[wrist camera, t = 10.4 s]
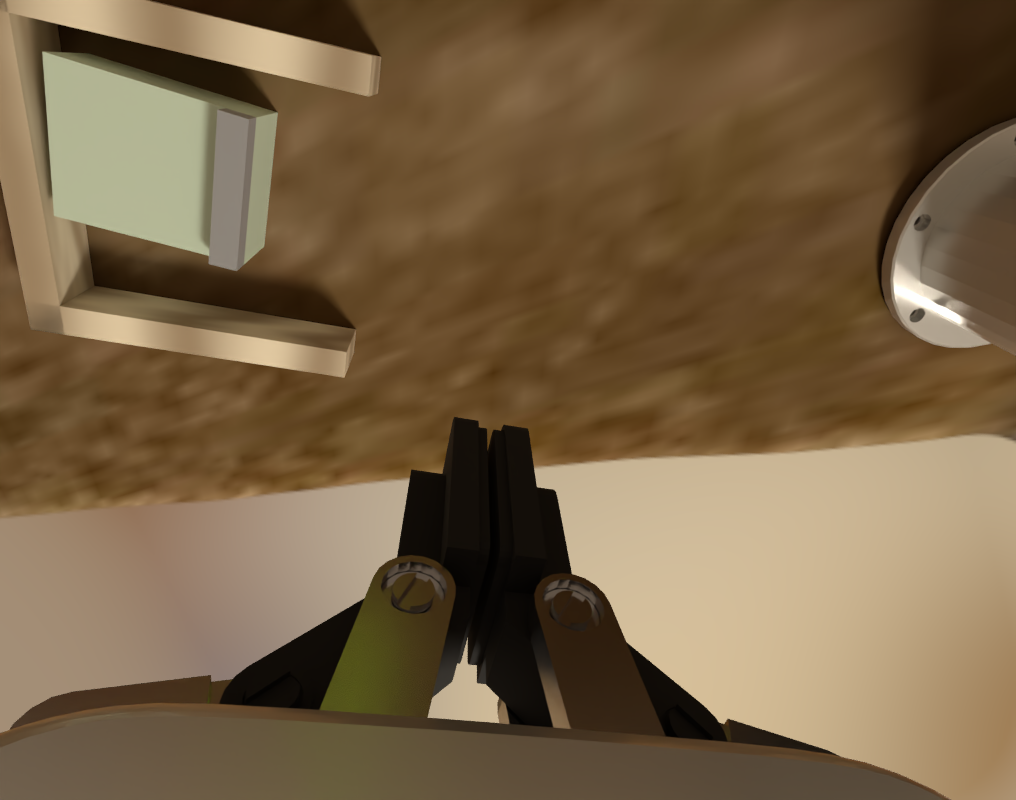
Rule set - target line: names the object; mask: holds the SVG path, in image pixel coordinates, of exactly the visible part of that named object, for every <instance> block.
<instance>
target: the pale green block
mask: <svg viewBox="0 0 1016 800" xmlns="http://www.w3.org/2000/svg"><path fill="white" fill-rule="evenodd" d="M42 54H43V68H44V82H45V96H46V110H47V124H48V138H49V152H50V166H51V180H52V194H53V208H54V216H56V217H60V218H64V219H68V220H72V221H76V222H80V223H84V224H88V225H91V226H95V227H99V228H103V229H107V230H111V231H115V232H119V233H123V234H127V235H130V236H134V237H138V238H142V239H146V240H150V241H154V242H158V243H162V244H165V245H169V246H173V247H177V248H181V249H185V250H189V251H193V252H197V253H200V254H204V255H208V256H209V264H211V265H215V266H219V267H222V268H226V269H230V270H234V271H237V270H238V269H240V268H241V267H242V266H243V265H244V264H245V263H246V262H247V261H248V260H250V259H251V258H252V257H253V256H254V255H255V254H256V253H257V252H258V251H260V250H261V249H262V248H263V247H264V243H265V234H266V224H267V214H268V204H269V194H270V184H271V174H272V164H273V154H274V144H275V135H276V125H277V115H278V112H275V111H272V110H268V109H265V108H262V107H259V106H256V105H252V104H249V103H246V102H243V101H240V100H236V99H233V98H230V97H227V96H224V95H220V94H217V93H214V92H211V91H208V90H204V89H201V88H198V87H195V86H192V85H188V84H185V83H182V82H179V81H176V80H172V79H169V78H166V77H163V76H160V75H156V74H153V73H150V72H147V71H144V70H140V69H137V68H134V67H131V66H128V65H124V64H121V63H118V62H115V61H112V60H108V59H105V58H102V57H99V56H96V55H92V54H89V53H68V52H44V51H42Z"/></svg>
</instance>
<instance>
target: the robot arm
mask: <svg viewBox="0 0 1016 800" xmlns="http://www.w3.org/2000/svg"><path fill="white" fill-rule="evenodd" d="M882 289H883V293H884V298H885V302H886V304H887V306H888V308H889V310H890V312H891V314H892V316H893V317H894V318H895V319H896V321H897V322H898V323H899V324H900V325H901V326H902V327H903V328H904V329H906V330H907V331H909V332H911V333H912V334H914V335H915V336H917V337H918V338H920V339H923V340H925V341H927V342H929V343H931V344H934V345H939V346H944V347H949V348H970V347H975V346H981V345H987V344H991V343H992V344H994V345H996V346H998V347H1000V348H1002V349H1004V350H1005V351H1007V352H1009V353H1011V354H1013V355H1015V356H1016V118H1014V119H1011V120H1008V121H1006V122H1003V123H1000V124H998V125H995V126H992V127H991V128H989V129H987V130H985V131H983V132H982V133H980V134H978V135H976V136H975V137H973V138H971V139H969V140H968V141H966V142H965V143H964V144H962V145H961V146H960V147H958V148H957V149H956V150H954V151H953V152H952V153H951V154H949V155H948V156H947V157H945V158H944V159H943V160H942V161H941V162H940V163H939V164H938V165H937V166H936V167H935V168H934V169H933V170H932V171H931V172H930V173H929V174H928V175H927V176H926V177H925V178H924V179H923V181H922V182H921V183H920V185H919V186H918V187H917V189H916V190H915V191H914V192H913V194H912V195H911V196H910V198H909V199H908V200H907V202H906V204H905V206H904V207H903V209H902V211H901V213H900V214H899V216H898V218H897V219H896V221H895V224H894V226H893V229H892V231H891V234H890V236H889V239H888V241H887V244H886V248H885V253H884V258H883V262H882ZM467 637H468V664H470V665H477V683H481V684H486V685H487V686H488V687H489V688H490V689H491V690H492V691H493V692H494V693H495V694H496V695H497V696H498V697H499V700H498V718H499V723H489V722H475V721H462V720H449V719H437V718H427V717H428V713H429V709H430V704H431V700H432V697H433V696H435V695H436V694H437V693H439V692H440V691H441V690H442V689H443V688H444V687H446V686H447V685H448V684H450V683H451V682H452V680H453V677H454V673H455V669H456V665H457V663H460V662H461V659H462V656H463V652H464V648H465V645H466V641H467ZM0 800H951V799H949V798H947V797H945V796H944V795H942V794H940V793H938V792H937V791H935V790H933V789H931V788H929V787H927V786H924V785H922V784H920V783H918V782H915V781H913V780H911V779H909V778H907V777H905V776H902V775H900V774H897V773H895V772H892V771H889V770H886V769H883V768H880V767H877V766H874V765H871V764H868V763H865V762H861V761H856V760H852V759H848V758H844V757H840V756H838V755H836V754H834V753H832V752H830V751H828V750H825V749H822V748H819V747H816V746H812V745H809V744H806V743H803V742H800V741H797V740H793V739H790V738H787V737H784V736H781V735H778V734H774V733H771V732H768V731H765V730H762V729H758V728H755V727H752V726H749V725H746V724H743V723H739V722H737V721H734V720H730V719H727V721H726V722H725V724H721V723H719V722H718V721H717V719H716V718H715V717H714V716H713V715H712V714H711V713H710V711H708V709H707V708H705V707H704V706H703V705H702V704H701V703H700V702H699V701H697V700H696V699H695V698H694V697H692V696H691V695H690V694H689V693H688V692H686V691H685V690H684V689H683V688H681V687H680V686H679V685H678V684H677V683H675V682H674V681H673V680H672V679H670V678H669V677H668V676H667V675H666V674H664V673H663V672H662V671H661V670H660V669H658V668H657V667H656V666H655V665H653V664H652V663H651V662H650V661H649V660H647V659H646V658H645V657H644V656H642V655H641V654H640V653H639V652H638V651H636V650H635V649H634V648H633V647H632V646H630V645H629V644H628V643H627V642H626V640H625V638H624V636H623V633H622V631H621V629H620V626H619V624H618V621H617V619H616V617H615V615H614V612H613V609H612V607H611V605H610V603H609V601H608V599H607V598H606V596H605V594H604V593H603V592H602V591H601V590H600V589H599V588H598V587H597V586H596V585H594V584H593V583H591V582H590V581H588V580H586V579H585V578H582V577H579V576H576V575H573V574H572V573H571V567H570V562H569V557H568V551H567V546H566V541H565V536H564V530H563V525H562V520H561V514H560V509H559V504H558V499H557V495H556V492H555V491H554V490H552V489H545V488H538V487H537V486H536V479H535V473H534V465H533V458H532V451H531V444H530V438H529V431H528V429H527V428H521V427H514V426H508V425H503V427H502V430H501V431H499V430H493V432H492V436H491V440H490V444H489V448H488V451H487V429H486V428H479V423H478V421H476V420H470V419H463V418H457V417H454V419H453V423H452V428H451V433H450V438H449V443H448V448H447V453H446V458H445V464H444V469H443V474H438V473H431V472H424V471H417V470H411V475H410V481H409V487H408V493H407V500H406V506H405V512H404V518H403V524H402V531H401V536H400V543H399V549H398V555H397V558H395V559H392V560H390V561H388V562H387V563H385V564H384V565H382V566H381V567H380V568H379V569H378V571H377V572H376V574H375V575H374V577H373V579H372V582H371V584H370V587H369V589H368V592H367V594H366V597H365V598H364V599H363V600H361V601H359V602H357V603H356V604H354V605H352V606H351V607H349V608H347V609H345V610H344V611H342V612H340V613H339V614H337V615H335V616H333V617H332V618H330V619H328V620H327V621H325V622H323V623H322V624H320V625H318V626H316V627H315V628H313V629H311V630H310V631H308V632H306V633H304V634H303V635H301V636H299V637H298V638H296V639H294V640H292V641H291V642H289V643H287V644H286V645H284V646H282V647H281V648H279V649H277V650H276V651H274V652H272V653H270V654H269V655H267V656H265V657H263V658H262V659H260V660H258V661H257V662H255V663H253V664H252V665H250V666H248V667H247V668H246V669H244V670H243V671H242V672H240V673H239V674H238V675H236V676H235V677H234V678H233V679H231V680H223V681H215V682H211V675H208V676H199V677H191V678H183V679H174V680H166V681H158V682H150V683H141V684H133V685H125V686H117V687H108V688H100V689H91V690H84V691H75V692H70V693H67V694H62V695H58V696H55V697H51V698H49V699H47V700H46V701H44V702H42V703H40V704H38V705H36V706H35V707H32V708H31V709H30V710H29V711H27V712H26V713H25V714H24V715H23V716H22V717H21V718H19V719H18V720H17V721H16V722H15V723H14V724H13V725H12V727H11V728H10V730H8V731H5V732H2V733H0Z"/></svg>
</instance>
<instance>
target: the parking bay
mask: <svg viewBox="0 0 1016 800" xmlns="http://www.w3.org/2000/svg"><path fill="white" fill-rule="evenodd" d="M58 24H60V25H64V26H68V27H73V28H77V29H81V30H86V31H90V32H94V33H99V34H103V35H107V36H111V37H116V38H120V39H124V40H129V41H133V42H137V43H141V44H146V45H150V46H154V47H159V48H163V49H167V50H172V51H176V52H180V53H184V54H189V55H193V56H197V57H202V58H206V59H210V60H214V61H219V62H223V63H227V64H232V65H236V66H240V67H244V68H249V69H253V70H257V71H262V72H266V73H270V74H275V75H279V76H283V77H287V78H292V79H296V80H300V81H305V82H309V83H313V84H317V85H322V86H326V87H330V88H335V89H339V90H343V91H348V92H352V93H356V94H360V95H365V96H372V95H375V94H378V87H379V76H380V65H381V57H380V56H376V55H372V54H368V53H364V52H360V51H356V50H352V49H347V48H343V47H339V46H335V45H331V44H327V43H323V42H319V41H315V40H311V39H307V38H303V37H298V36H294V35H290V34H286V33H282V32H278V31H274V30H270V29H266V28H262V27H258V26H254V25H249V24H245V23H241V22H237V21H233V20H229V19H225V18H221V17H217V16H213V15H209V14H205V13H200V12H196V11H192V10H188V9H184V8H180V7H176V6H172V5H168V4H164V3H160V2H156V1H151V0H0V181H1V186H2V191H3V196H4V201H5V206H6V211H7V215H8V220H9V225H10V230H11V235H12V240H13V245H14V250H15V255H16V260H17V265H18V269H19V274H20V279H21V284H22V289H23V294H24V299H25V304H26V309H27V314H28V319H29V323H30V328H31V329H32V330H38V331H45V332H51V333H58V334H64V335H71V336H77V337H84V338H90V339H97V340H103V341H110V342H117V343H123V344H130V345H136V346H143V347H149V348H156V349H162V350H169V351H175V352H182V353H188V354H195V355H201V356H208V357H214V358H221V359H228V360H234V361H241V362H247V363H254V364H260V365H267V366H273V367H280V368H286V369H293V370H299V371H306V372H312V373H319V374H325V375H332V376H339V377H345V375H346V372H347V369H348V367H349V364H350V362H351V359H352V356H353V354H354V345H355V334H356V329H351V328H345V327H339V326H333V325H327V324H321V323H315V322H309V321H303V320H297V319H291V318H285V317H279V316H273V315H267V314H261V313H255V312H249V311H243V310H237V309H231V308H225V307H219V306H213V305H207V304H201V303H195V302H189V301H183V300H177V299H171V298H165V297H159V296H153V295H147V294H141V293H135V292H129V291H123V290H117V289H111V288H105V287H99V286H94V280H93V273H92V266H91V259H90V252H89V245H88V238H87V231H86V224H84V223H80V222H76V221H72V220H68V219H64V218H60V217H56V216H54V208H53V194H52V180H51V166H50V152H49V138H48V124H47V110H46V96H45V82H44V68H43V54H42V51H44V52H61V45H60V38H59V31H58Z"/></svg>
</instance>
